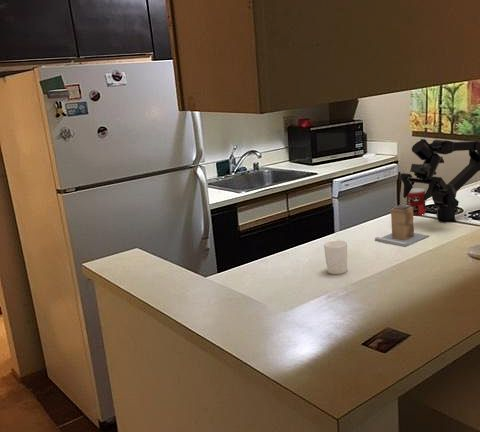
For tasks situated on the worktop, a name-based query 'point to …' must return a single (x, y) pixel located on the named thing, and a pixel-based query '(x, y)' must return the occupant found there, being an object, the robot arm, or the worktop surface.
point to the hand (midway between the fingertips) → (413, 199)
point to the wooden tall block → (402, 222)
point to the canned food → (417, 201)
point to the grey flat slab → (402, 243)
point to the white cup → (336, 256)
